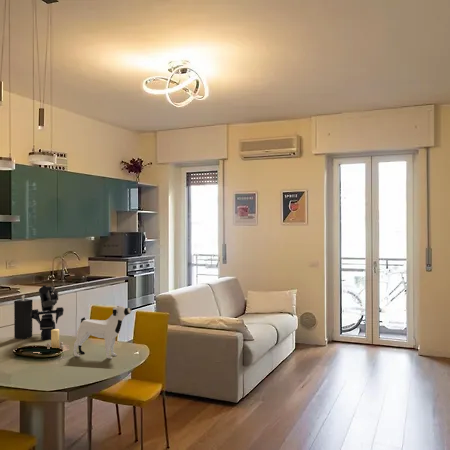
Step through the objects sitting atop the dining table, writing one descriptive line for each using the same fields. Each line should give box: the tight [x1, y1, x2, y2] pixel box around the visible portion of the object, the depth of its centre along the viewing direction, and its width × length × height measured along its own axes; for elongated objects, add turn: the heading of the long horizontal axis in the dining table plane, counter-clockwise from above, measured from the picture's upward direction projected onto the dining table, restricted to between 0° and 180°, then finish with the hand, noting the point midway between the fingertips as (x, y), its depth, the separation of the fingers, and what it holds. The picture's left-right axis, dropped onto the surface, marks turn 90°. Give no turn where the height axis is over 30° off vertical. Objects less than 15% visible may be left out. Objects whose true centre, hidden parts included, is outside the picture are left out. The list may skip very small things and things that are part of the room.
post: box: [50, 328, 60, 348], centre depth 271 cm, size 4×4×11 cm
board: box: [33, 341, 70, 354], centre depth 269 cm, size 26×14×4 cm, turn 112°
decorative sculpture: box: [73, 305, 132, 360], centre depth 259 cm, size 10×32×30 cm, turn 78°
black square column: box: [13, 294, 33, 340], centre depth 302 cm, size 8×8×28 cm
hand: (48, 324), depth 281 cm, fingers open, 9 cm apart
